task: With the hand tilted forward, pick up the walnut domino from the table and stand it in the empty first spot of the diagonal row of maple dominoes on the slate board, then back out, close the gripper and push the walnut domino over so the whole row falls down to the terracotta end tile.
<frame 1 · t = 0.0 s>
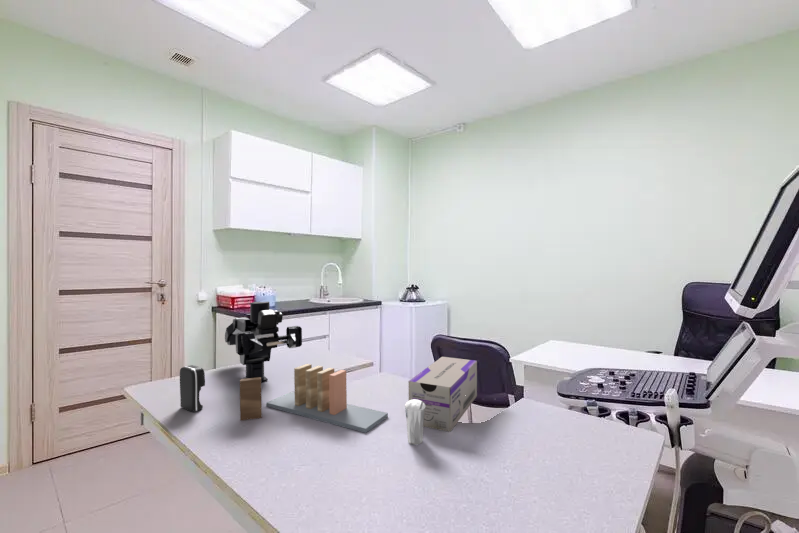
hand: (279, 345, 105), 17 cm above the table, tool horizontal, fingers open, 9 cm apart
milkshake: (416, 443, 84), on the table
walnut domino: (251, 417, 97), on the table
maple domino 4: (326, 408, 100), point 1 cm above the table, touching slate board
maple domino 3: (314, 405, 102), point 1 cm above the table, touching slate board
terracotta domino: (338, 410, 98), point 1 cm above the table, touching slate board
maple domino 2: (303, 402, 104), point 1 cm above the table, touching slate board
slate board: (324, 411, 101), on the table
surgical sutures box: (445, 410, 102), on the table
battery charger: (193, 408, 103), on the table
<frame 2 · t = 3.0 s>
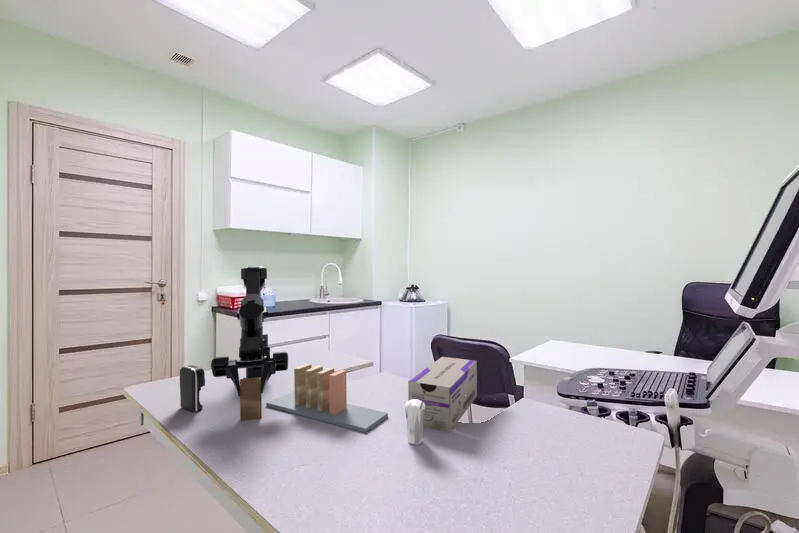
hand: (250, 394, 95), 7 cm above the table, tool tilted 45°, fingers closed on walnut domino, 5 cm apart
walnut domino: (251, 417, 97), on the table, touching gripper
everything else where it was.
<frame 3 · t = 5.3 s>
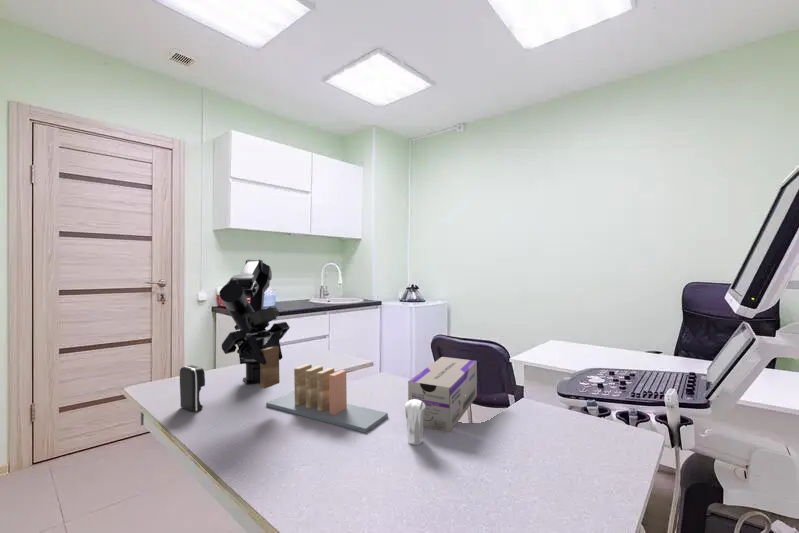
hand: (273, 361, 100), 13 cm above the table, tool tilted 45°, fingers closed on walnut domino, 5 cm apart
walnut domino: (270, 385, 101), point 7 cm above the table, touching gripper
everything else where it was.
when the fingers open (9 cm above the table, at t = 8.1 s): walnut domino stays where it is, resting on slate board.
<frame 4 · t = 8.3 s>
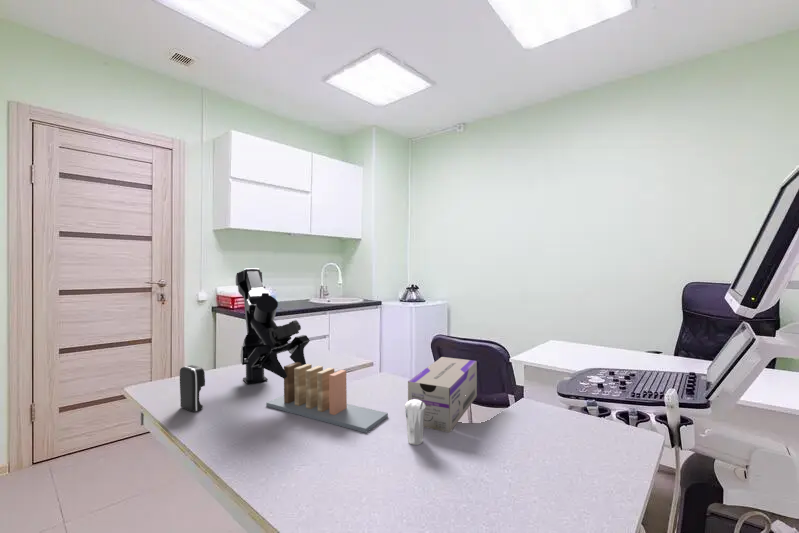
hand: (296, 373, 105), 9 cm above the table, tool tilted 45°, fingers open, 7 cm apart
walnut domino: (292, 399, 106), point 1 cm above the table, touching slate board
everything else where it was.
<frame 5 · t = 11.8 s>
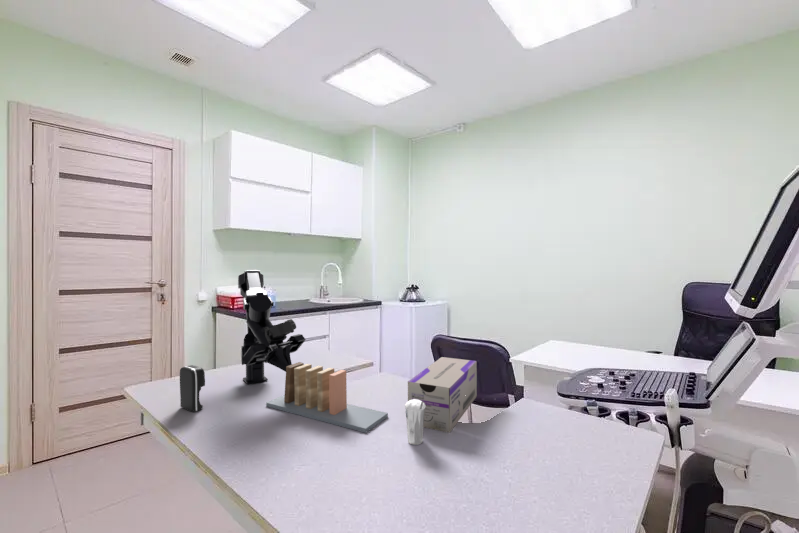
hand: (291, 372, 106), 9 cm above the table, tool tilted 45°, fingers closed
walnut domino: (292, 399, 106), point 1 cm above the table, tilted 6°, touching slate board
everything else where it was.
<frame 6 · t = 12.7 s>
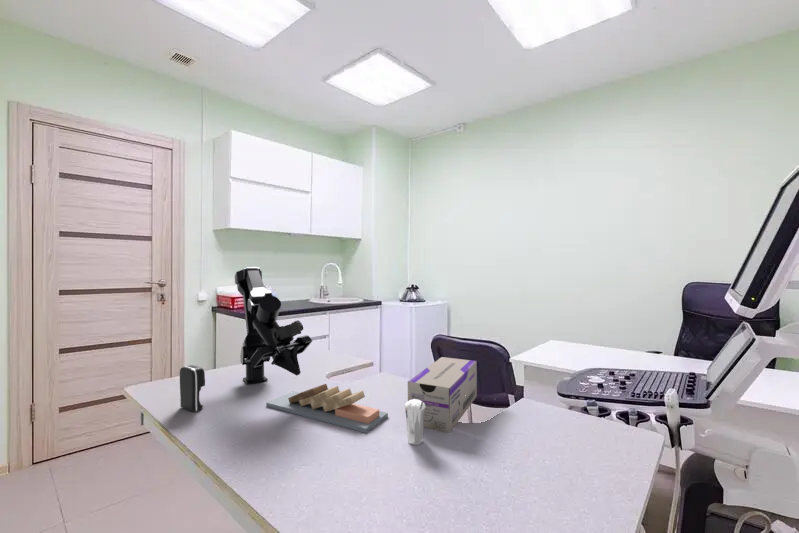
hand: (298, 374, 105), 9 cm above the table, tool tilted 45°, fingers closed
walnut domino: (295, 397, 106), point 2 cm above the table, tilted 66°, touching maple domino 2
maple domino 4: (329, 405, 100), point 2 cm above the table, tilted 66°, touching maple domino 3, terracotta domino
maple domino 3: (317, 403, 102), point 2 cm above the table, tilted 66°, touching maple domino 2, maple domino 4, slate board
terracotta domino: (341, 408, 98), point 2 cm above the table, tilted 90°, touching maple domino 4, slate board
maple domino 2: (306, 400, 104), point 2 cm above the table, tilted 66°, touching maple domino 3, slate board, walnut domino
everything else where it was.
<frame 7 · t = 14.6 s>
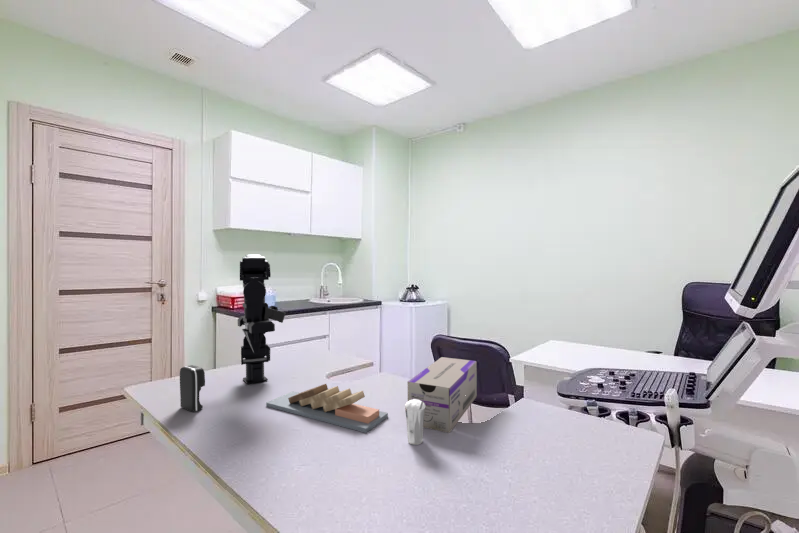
hand: (256, 353, 111), 13 cm above the table, tool pointing down, fingers closed
nothing on the table moved.
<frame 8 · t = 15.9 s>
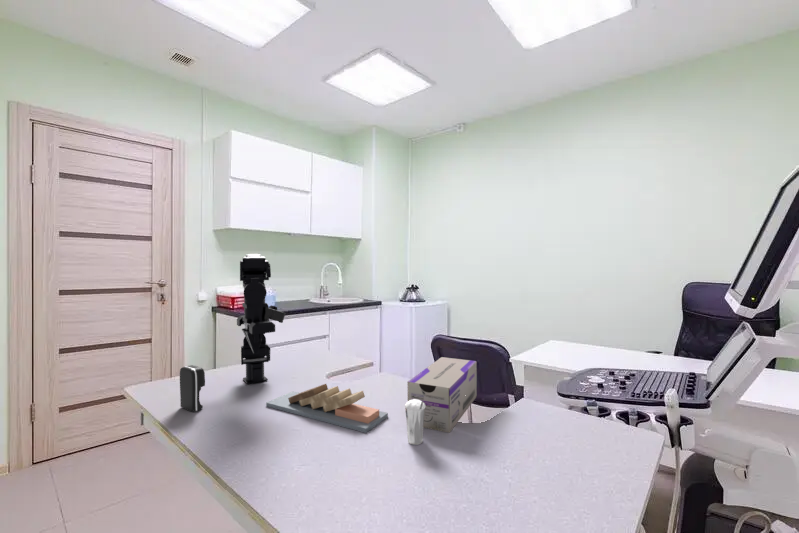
hand: (255, 353, 111), 13 cm above the table, tool pointing down, fingers closed
nothing on the table moved.
at the end: terracotta domino tilted 90°; walnut domino tilted 66°; walnut domino inside the target area (1.1 cm from its centre), point 1.7 cm above the table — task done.
